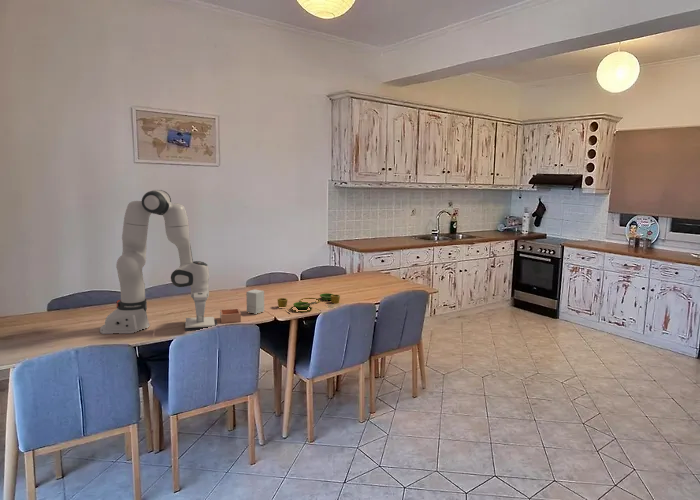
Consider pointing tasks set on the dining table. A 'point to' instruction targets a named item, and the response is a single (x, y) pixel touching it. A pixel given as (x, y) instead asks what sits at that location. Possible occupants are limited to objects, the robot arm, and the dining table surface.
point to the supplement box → (255, 301)
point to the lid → (199, 322)
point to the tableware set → (304, 305)
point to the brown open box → (230, 315)
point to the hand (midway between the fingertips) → (200, 319)
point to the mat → (197, 327)
